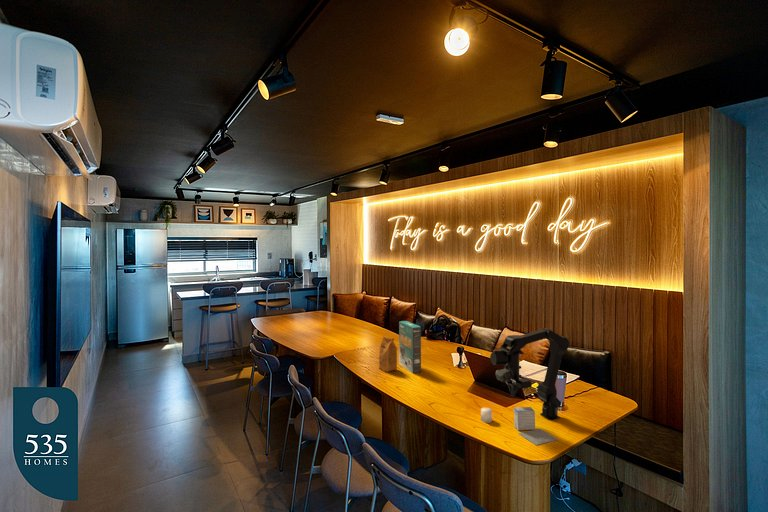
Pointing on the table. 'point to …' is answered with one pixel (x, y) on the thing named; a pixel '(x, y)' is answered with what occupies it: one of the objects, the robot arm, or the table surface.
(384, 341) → the coffee package
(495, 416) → the table surface
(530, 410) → the medicine box
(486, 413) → the egg
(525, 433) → the mat
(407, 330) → the cake mix box
